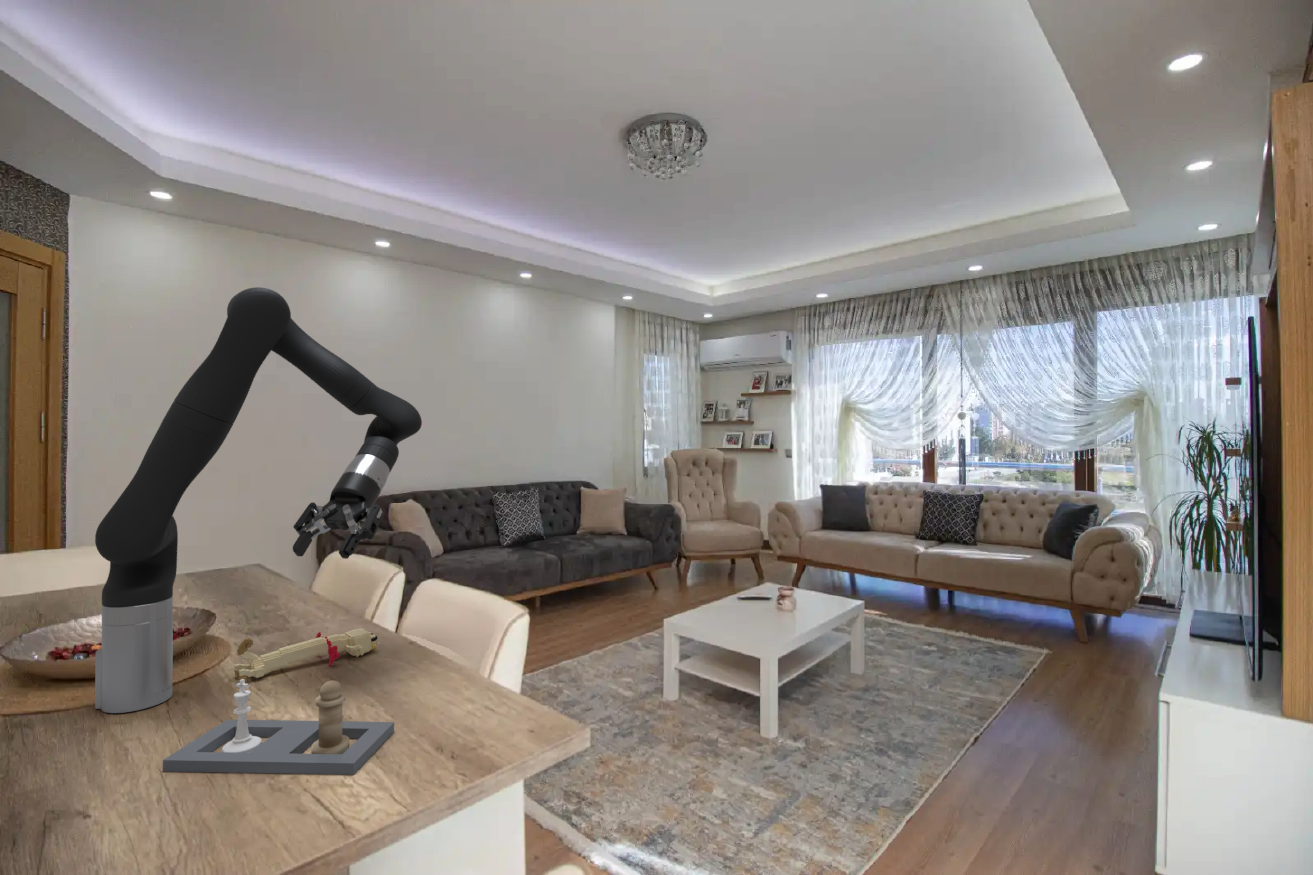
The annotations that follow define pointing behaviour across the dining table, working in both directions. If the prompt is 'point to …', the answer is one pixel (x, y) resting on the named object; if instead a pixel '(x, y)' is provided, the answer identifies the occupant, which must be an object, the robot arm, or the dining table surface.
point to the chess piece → (242, 725)
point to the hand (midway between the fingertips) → (319, 554)
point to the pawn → (330, 721)
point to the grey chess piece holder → (280, 749)
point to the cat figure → (304, 652)
